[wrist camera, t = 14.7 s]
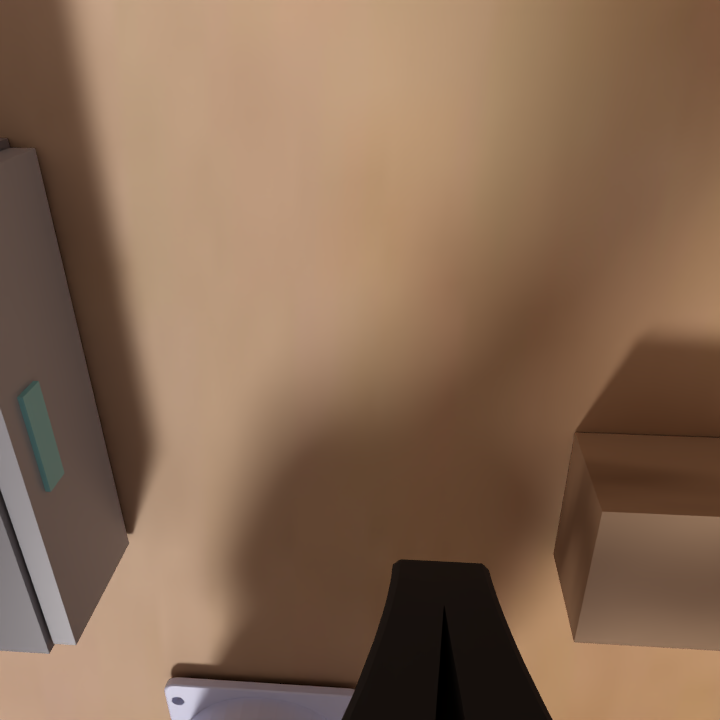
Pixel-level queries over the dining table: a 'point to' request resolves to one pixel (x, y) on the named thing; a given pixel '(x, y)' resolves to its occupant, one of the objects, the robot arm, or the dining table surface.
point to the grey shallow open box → (50, 416)
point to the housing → (18, 587)
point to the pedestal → (642, 541)
